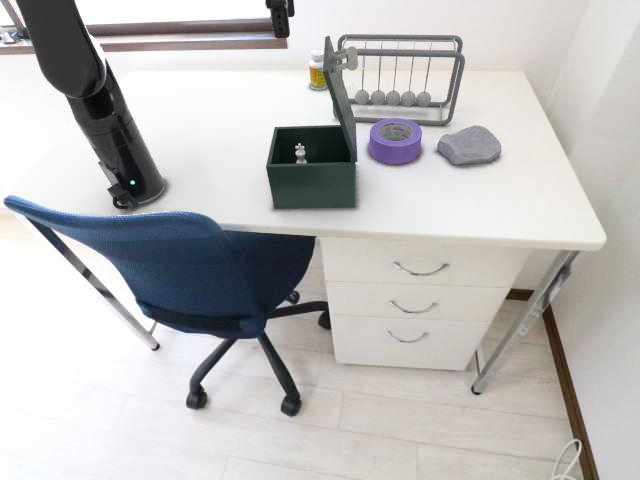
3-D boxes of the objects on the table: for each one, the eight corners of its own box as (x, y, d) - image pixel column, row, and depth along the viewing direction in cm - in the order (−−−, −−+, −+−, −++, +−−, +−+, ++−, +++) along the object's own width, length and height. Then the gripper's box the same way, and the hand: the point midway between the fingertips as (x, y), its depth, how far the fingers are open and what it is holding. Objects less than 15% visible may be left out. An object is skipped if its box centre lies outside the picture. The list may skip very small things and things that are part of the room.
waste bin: (274, 208, 77) (265, 166, 69) (281, 168, 86) (274, 126, 78) (354, 207, 76) (355, 164, 68) (353, 166, 85) (353, 124, 77)
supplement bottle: (319, 92, 109) (317, 58, 102) (307, 86, 112) (304, 52, 105) (332, 85, 111) (331, 51, 104) (320, 80, 114) (318, 46, 107)
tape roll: (358, 149, 89) (359, 131, 85) (392, 130, 94) (394, 112, 90) (395, 171, 83) (397, 152, 79) (429, 149, 87) (433, 131, 84)
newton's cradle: (332, 120, 98) (330, 50, 85) (339, 101, 105) (337, 33, 92) (450, 126, 93) (467, 53, 80) (449, 105, 100) (464, 34, 87)
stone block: (500, 163, 85) (476, 134, 90) (509, 148, 81) (483, 118, 86) (455, 178, 83) (433, 148, 88) (462, 164, 79) (438, 132, 84)
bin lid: (322, 72, 55) (354, 61, 54) (325, 36, 64) (352, 26, 63) (353, 163, 68) (380, 156, 66) (352, 122, 77) (375, 115, 75)
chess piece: (313, 191, 79) (309, 152, 71) (290, 190, 79) (284, 150, 72) (317, 176, 82) (313, 137, 74) (295, 175, 83) (289, 136, 75)
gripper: (247, -123, 50) (267, 12, 62) (226, -110, 41) (254, 46, 53) (303, -128, 50) (312, 9, 62) (294, -115, 40) (307, 43, 52)
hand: (285, 26), depth 57 cm, fingers open, 8 cm apart
